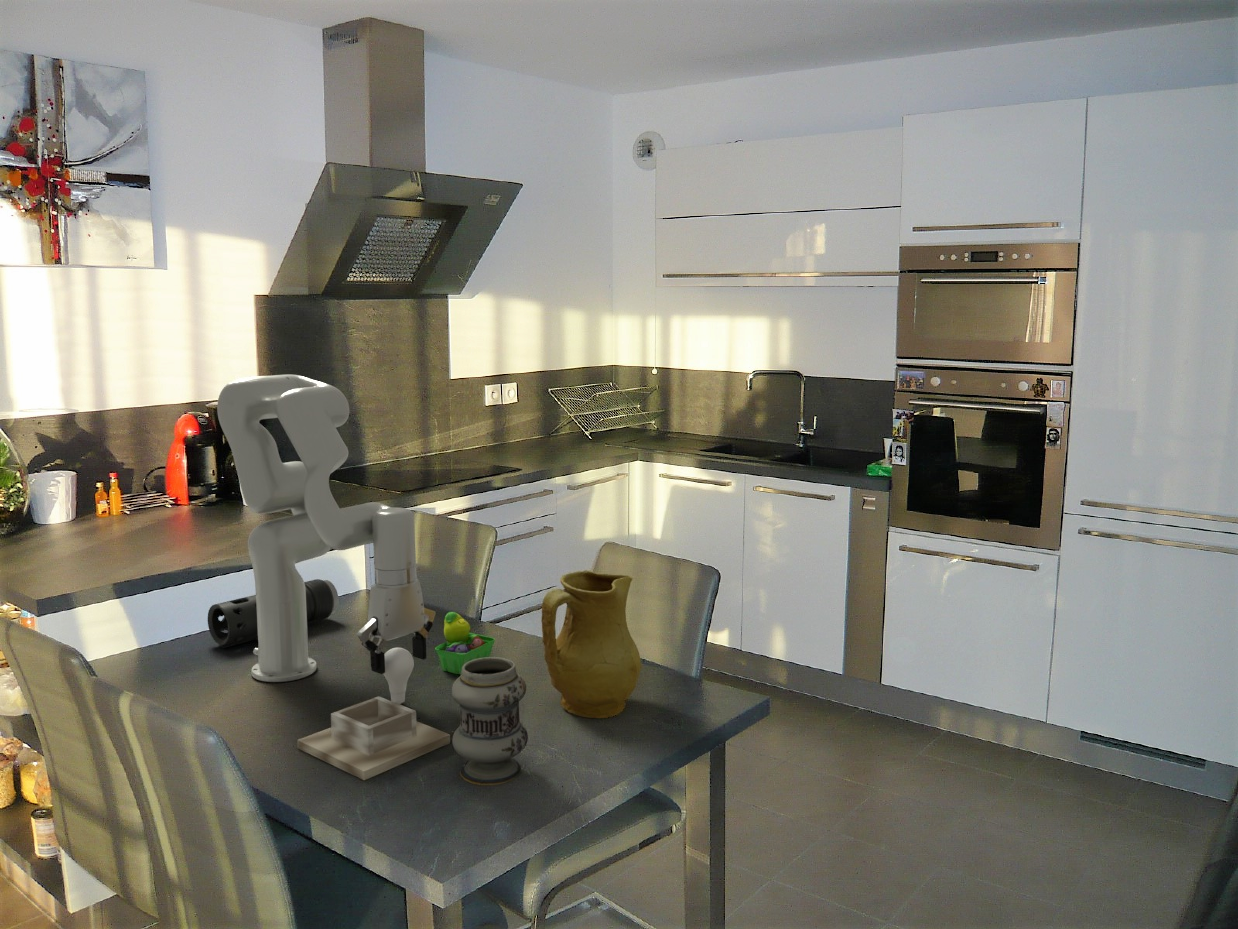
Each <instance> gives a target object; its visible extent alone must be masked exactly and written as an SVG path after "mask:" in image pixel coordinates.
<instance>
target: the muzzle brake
mask: <svg viewBox="0 0 1238 929" xmlns="http://www.w3.org/2000/svg"><path fill="white" fill-rule="evenodd" d="M304 583H305V590H306V611H307V627H308V626H309V624H310V623H315V622H318V621H322V620H326V619H328V618H329V617H330V616H331V615H332V614H335V613H336V612H337V610H338V608H339V595H338V594H339V593H338V591H337V588H336V586H335V584H334V583H332V581H330V580H328V579H325V580H324V579H323V580H322V579H312V580H308V581H304ZM220 617H222V619H221V620H220V619H219V618H220ZM207 627H208V630H209V634H210V635H211V638H212V640H213V641H214V642H215V643H216V644H217V645H218V646H219V647H220V648H223V649H226V648H230V647H233V646H237V645H240V644H244V643H248V642H252V641H255V640H258V626H257V605H256V594H253V595H249V596H245V597H241V598H236V599H233V600H228V601H227V600H226V601H223V602H219V603H215V604H212V605H211V606H210V607H209V610H208V612H207ZM224 631H227V632H224Z"/></svg>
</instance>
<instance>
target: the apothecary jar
mask: <svg viewBox="0 0 1238 929" xmlns="http://www.w3.org/2000/svg"><path fill="white" fill-rule="evenodd" d="M526 692H527V683H526V681H525V679H524V678H523V676H521V675H520V674H519V673H518V672H517V670H516V664H515V662H514V661H512V660H511V659H508V658H504V657H499V656H490V657H484V658H478V659H474V660H471V661H469V662H467V663H465V664H464V665H463V667H462V671H461V675H460V676H459V677H457V678H456V680H455V681H454V682H453V684H452V687H451V696H452V698H453V699H454V701H455V702H456V703H457V704H459V726H458V728H456V730H455V731H454V733H453V735H452V746H453V749H454V751H455V752H456V753H457V754H458V755H459V756H460V757H462V758H463V759H466V760H467V761H466V762H465V763H464V765H463V766H461V768H460V769H459V774H460V778H461V779H463V780H464V781H466V782H468V783H470V784H473V785H476V784H477V786H484V785H489V786H497V785H503V784H506V783H509V782H511V781H513V780H515V779H516V778H518V776H520V774H521V772H522V766H521V764H520V762H519V761H517V760H516V759H515V758H514V757H516V756H518V754H519V755H520V753H521V752H522V751H523V750H524V749H525V747H526V746H527V743H528V740H529V734H528V730H527V729H526V726H525V725H523V723H522V722H521V718H520V701H522V699H523V698H524V697H525V695H526Z"/></svg>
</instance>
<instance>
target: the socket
mask: <svg viewBox="0 0 1238 929" xmlns="http://www.w3.org/2000/svg"><path fill="white" fill-rule="evenodd" d="M330 726H331V727H329V728H326V729H323V730H321V731H317V732H315V733H312V734H309V735H307V736H304V737H301V738H299V739H297V749H298V750H300V751H302V752H304V753H306V754H309V755H311V756H312V757H315V758H317V759H319V760H321V761H324V762H325V763H328V764H330V765H332V766H334V767H336V768H337V769H339V770H341V771H344V772H346V773H348V774H350V775H352V776H355V777H356V778H358V779H360V780H363V781H366V780H369V779H371V778H373V777H375V776H377V775H379V774H382V773H385V772H387V771H388V770H391V769H393V768H396V767H399V766H401V765H403V764H405V763H407V762H411V761H412V760H413V759H416V758H418V757H422V756H423V755H426V754H427V753H430V752H433V751H435V750H437V749H439V748H441V747H442V748H443V746H447V745H448V744H450V743H451V734H449V733H447V732H445V731H442V730H439V729H437V728H435V727H432V726H430V725H427V724H424V723H423V722H419V721H418V720H417V710H415V709H412V708H410V707H407V706H405V705H402V704H397V703H395V702H392V701H391V699H390V700H389V699H387V698H384V697H382V696H379V695H378V696H376V697H372V698H371V699H370V698H369V699H367V700H365V701H362V702H358V703H356V704H353V705H351V706H347V707H345V708H343V709H340V710H337V711H334V712H332V713H330Z"/></svg>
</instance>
